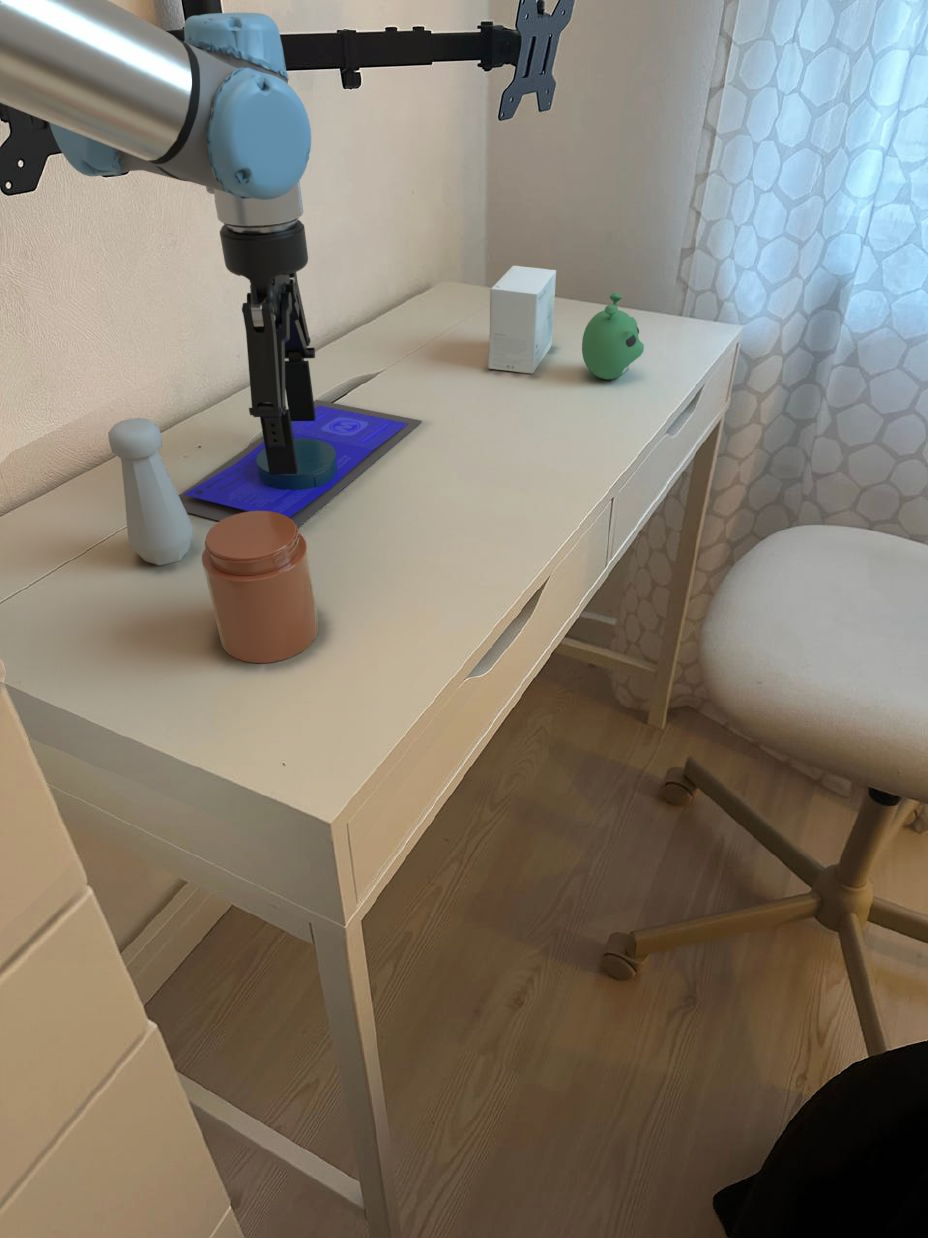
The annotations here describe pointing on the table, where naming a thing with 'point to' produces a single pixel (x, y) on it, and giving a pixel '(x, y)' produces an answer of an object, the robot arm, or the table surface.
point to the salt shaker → (150, 494)
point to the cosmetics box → (521, 319)
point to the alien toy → (611, 342)
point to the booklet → (243, 491)
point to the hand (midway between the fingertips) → (294, 444)
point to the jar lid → (302, 466)
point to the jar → (260, 586)
